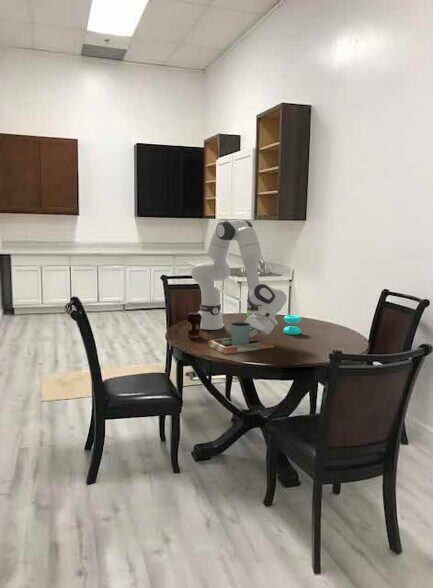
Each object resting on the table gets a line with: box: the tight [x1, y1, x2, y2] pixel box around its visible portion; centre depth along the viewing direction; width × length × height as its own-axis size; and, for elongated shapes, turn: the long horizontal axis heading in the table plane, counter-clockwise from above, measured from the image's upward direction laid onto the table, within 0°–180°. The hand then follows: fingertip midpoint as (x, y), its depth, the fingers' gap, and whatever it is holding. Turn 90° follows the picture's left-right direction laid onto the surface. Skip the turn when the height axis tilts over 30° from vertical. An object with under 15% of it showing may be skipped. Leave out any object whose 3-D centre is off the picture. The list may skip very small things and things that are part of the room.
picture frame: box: [207, 334, 275, 355], centre depth 251 cm, size 17×29×3 cm, turn 120°
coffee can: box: [246, 298, 262, 319], centre depth 312 cm, size 10×10×14 cm
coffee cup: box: [185, 311, 202, 338], centre depth 271 cm, size 9×8×13 cm
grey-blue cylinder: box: [230, 321, 250, 346], centre depth 250 cm, size 10×10×12 cm
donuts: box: [283, 314, 302, 336], centre depth 281 cm, size 10×10×10 cm
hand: (248, 336), depth 253 cm, fingers closed, pressing on grey-blue cylinder
